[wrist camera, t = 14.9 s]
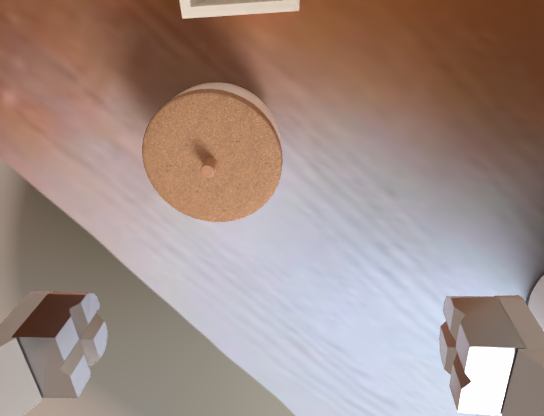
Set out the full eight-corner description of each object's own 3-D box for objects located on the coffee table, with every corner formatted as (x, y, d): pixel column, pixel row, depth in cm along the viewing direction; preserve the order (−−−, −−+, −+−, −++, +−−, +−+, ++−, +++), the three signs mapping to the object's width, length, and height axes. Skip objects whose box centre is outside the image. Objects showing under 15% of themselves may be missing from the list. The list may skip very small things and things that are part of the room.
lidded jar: (147, 137, 42) (108, 180, 34) (210, 41, 38) (184, 64, 29) (240, 201, 45) (225, 257, 36) (310, 119, 40) (311, 161, 32)
